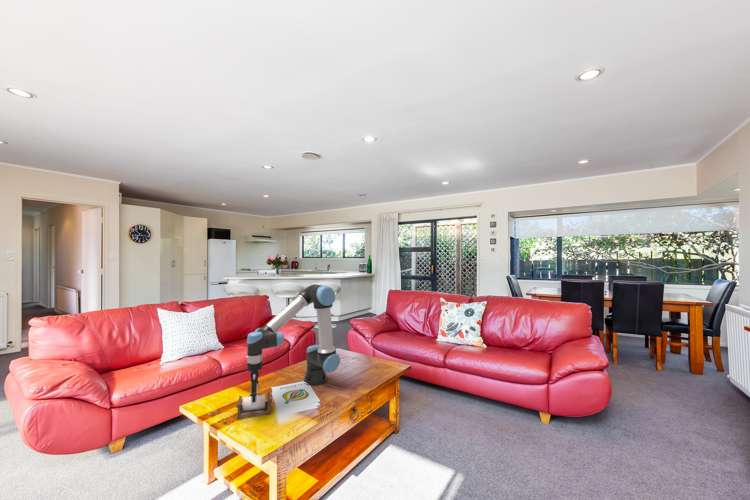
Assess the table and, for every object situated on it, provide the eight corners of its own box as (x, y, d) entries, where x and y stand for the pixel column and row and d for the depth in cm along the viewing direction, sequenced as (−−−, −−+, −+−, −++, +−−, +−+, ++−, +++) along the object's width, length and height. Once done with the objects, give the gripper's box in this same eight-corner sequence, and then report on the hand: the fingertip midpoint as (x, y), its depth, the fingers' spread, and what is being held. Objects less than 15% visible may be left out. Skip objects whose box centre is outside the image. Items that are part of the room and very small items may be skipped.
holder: (271, 404, 177) (271, 391, 177) (271, 414, 166) (271, 400, 166) (237, 409, 171) (237, 396, 171) (235, 419, 160) (235, 405, 161)
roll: (265, 405, 174) (265, 392, 174) (265, 411, 167) (265, 397, 167) (243, 408, 170) (243, 395, 170) (242, 414, 163) (242, 400, 164)
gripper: (248, 355, 179) (248, 392, 179) (245, 371, 156) (245, 414, 156) (262, 354, 182) (262, 391, 182) (261, 369, 158) (261, 411, 158)
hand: (254, 401), depth 169 cm, fingers open, 13 cm apart
